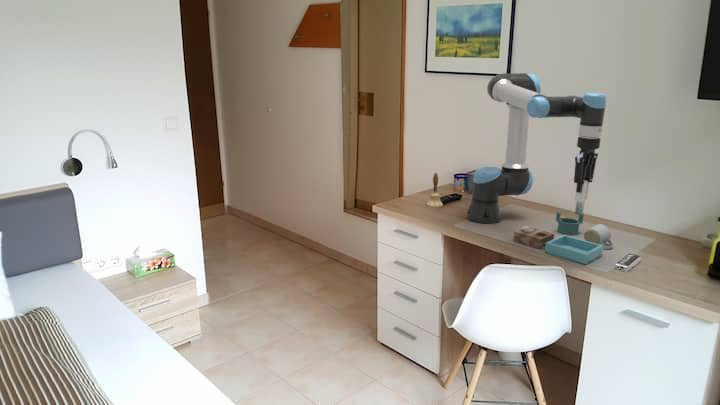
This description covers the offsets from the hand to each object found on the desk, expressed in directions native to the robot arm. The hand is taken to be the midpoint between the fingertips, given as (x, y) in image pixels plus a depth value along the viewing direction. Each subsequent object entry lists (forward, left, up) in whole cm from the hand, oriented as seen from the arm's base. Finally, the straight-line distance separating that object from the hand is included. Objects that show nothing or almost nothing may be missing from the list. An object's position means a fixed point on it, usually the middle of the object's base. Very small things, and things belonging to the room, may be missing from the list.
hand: (580, 199), depth 199 cm
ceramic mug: (+2, +18, -22) cm, 28 cm away
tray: (0, 0, -22) cm, 22 cm away
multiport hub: (+18, +5, -22) cm, 29 cm away
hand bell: (-77, +10, -22) cm, 81 cm away
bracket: (-14, +23, -22) cm, 35 cm away
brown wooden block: (-17, 0, -22) cm, 28 cm away
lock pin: (0, 0, -6) cm, 6 cm away
